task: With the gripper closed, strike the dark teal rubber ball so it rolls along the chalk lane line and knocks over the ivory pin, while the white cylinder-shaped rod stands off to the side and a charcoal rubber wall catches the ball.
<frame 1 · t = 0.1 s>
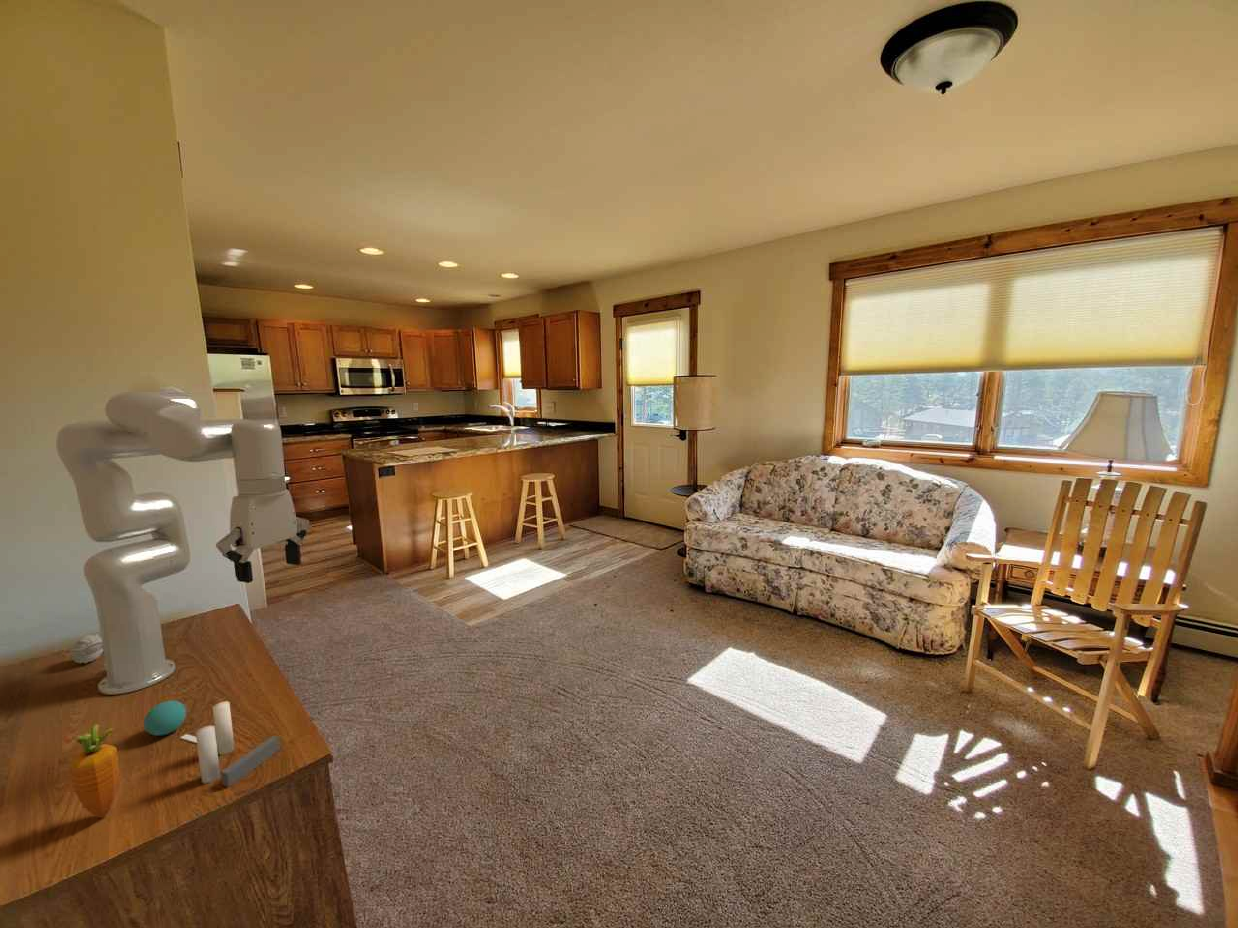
hand: (270, 572, 94), 31 cm above the table, tool pointing down, fingers open, 9 cm apart
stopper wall: (252, 766, 85), on the table
ivory pin: (226, 749, 89), on the table
white cylinder rod: (211, 777, 83), on the table
lane line: (199, 741, 91), on the table
carrot: (103, 818, 75), on the table
ball: (165, 717, 93), on the table
white ridged lump: (89, 662, 118), on the table
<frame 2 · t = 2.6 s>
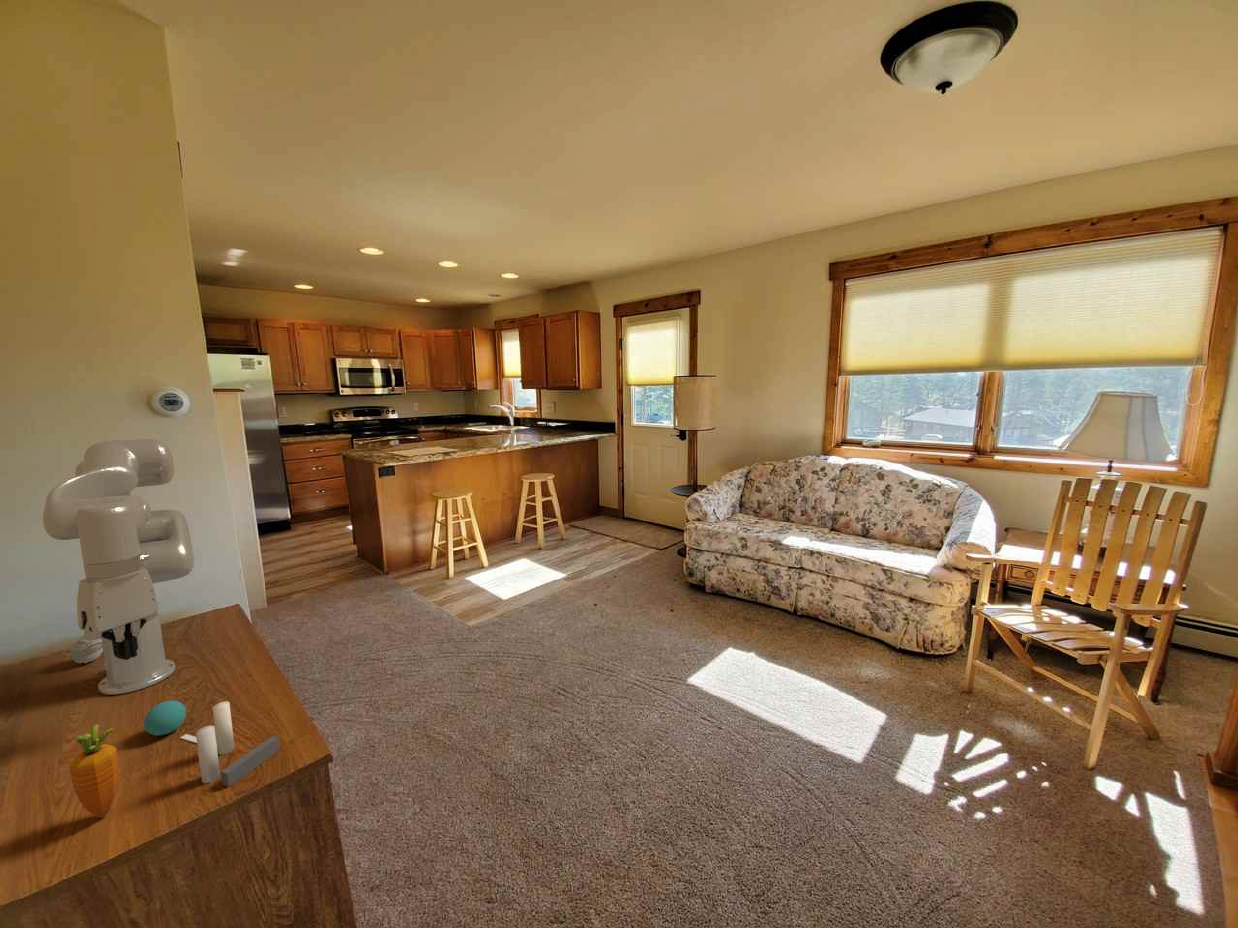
hand: (127, 656, 94), 14 cm above the table, tool pointing down, fingers closed
nothing on the table moved.
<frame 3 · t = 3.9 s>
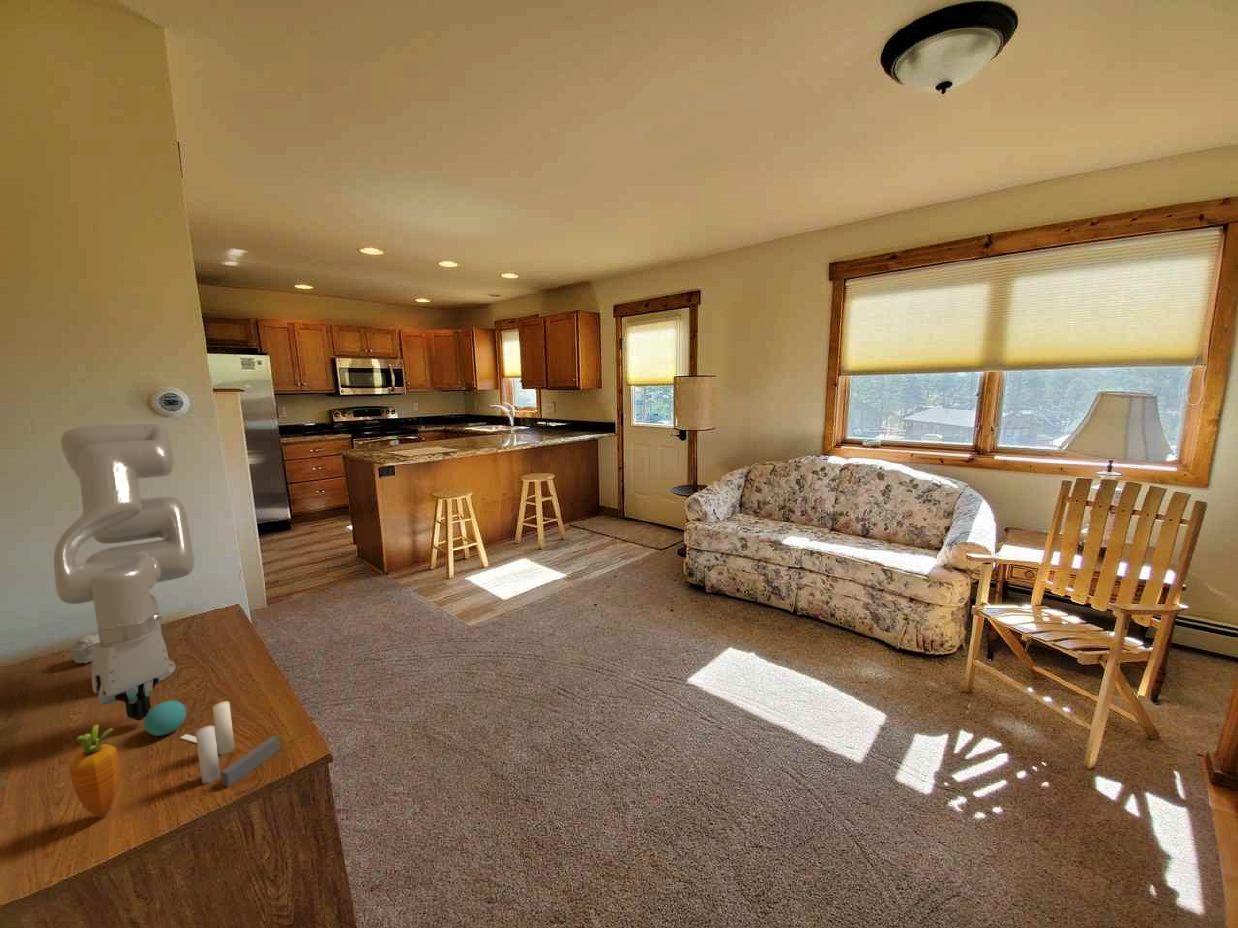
hand: (139, 716, 95), 2 cm above the table, tool pointing down, fingers closed
nothing on the table moved.
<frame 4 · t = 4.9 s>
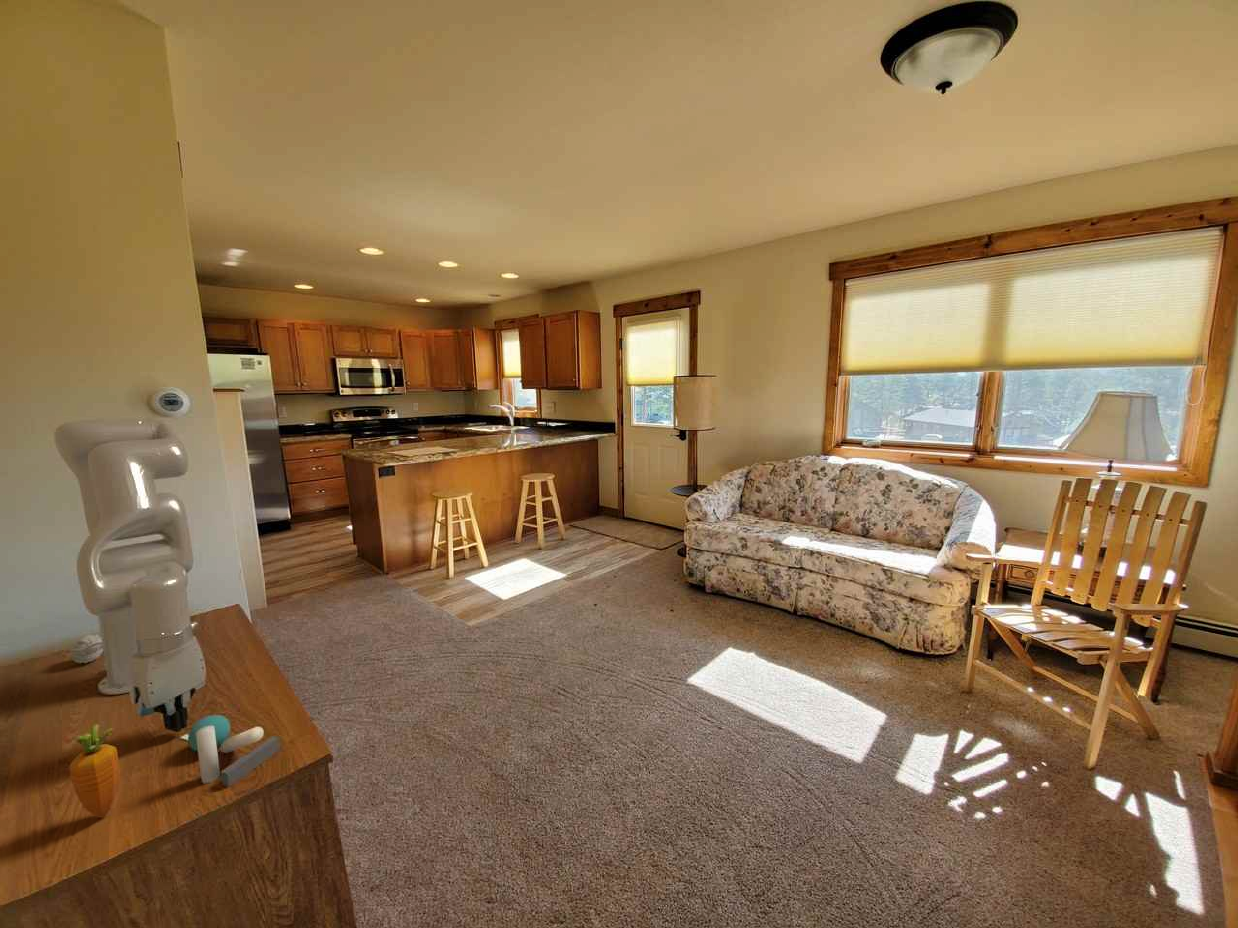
hand: (177, 727, 93), 2 cm above the table, tool pointing down, fingers closed
ivory pin: (228, 745, 89), point 1 cm above the table, tilted 62°
ball: (209, 732, 89), on the table
everything else where it was.
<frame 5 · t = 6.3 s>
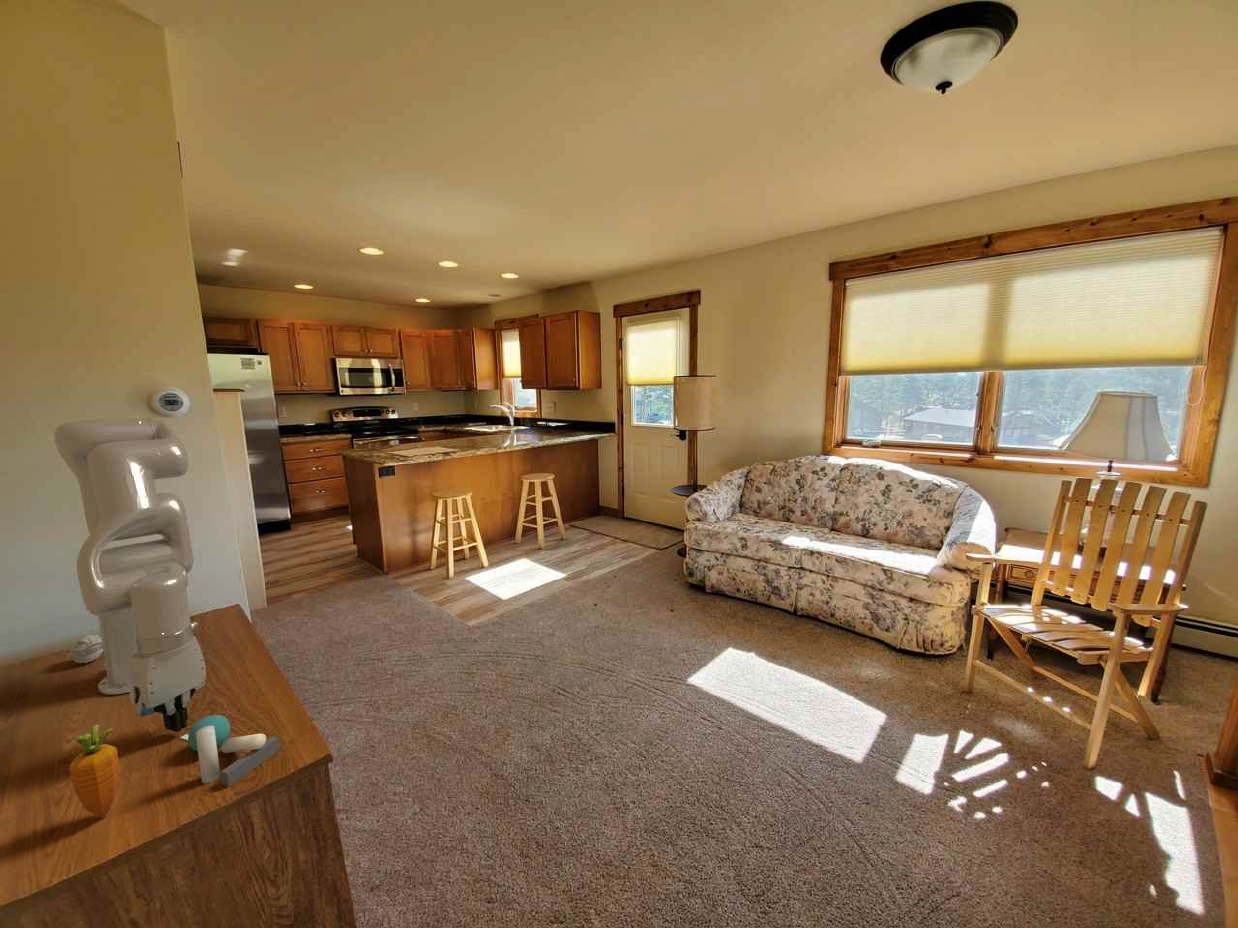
hand: (177, 727, 93), 2 cm above the table, tool pointing down, fingers closed
ivory pin: (228, 745, 89), point 1 cm above the table, tilted 70°, touching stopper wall
everything else where it was.
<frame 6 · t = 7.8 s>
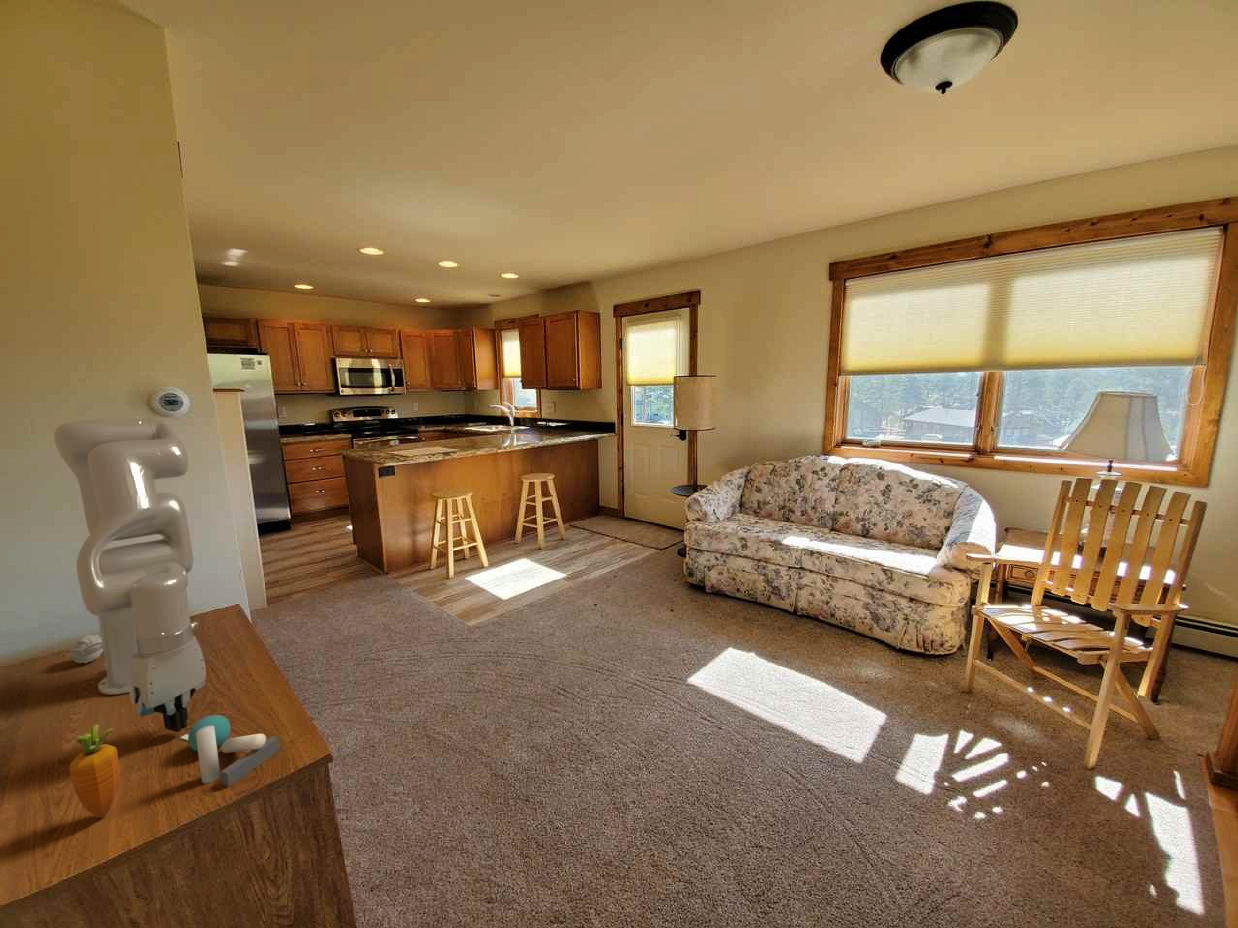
hand: (177, 727, 93), 2 cm above the table, tool pointing down, fingers closed
nothing on the table moved.
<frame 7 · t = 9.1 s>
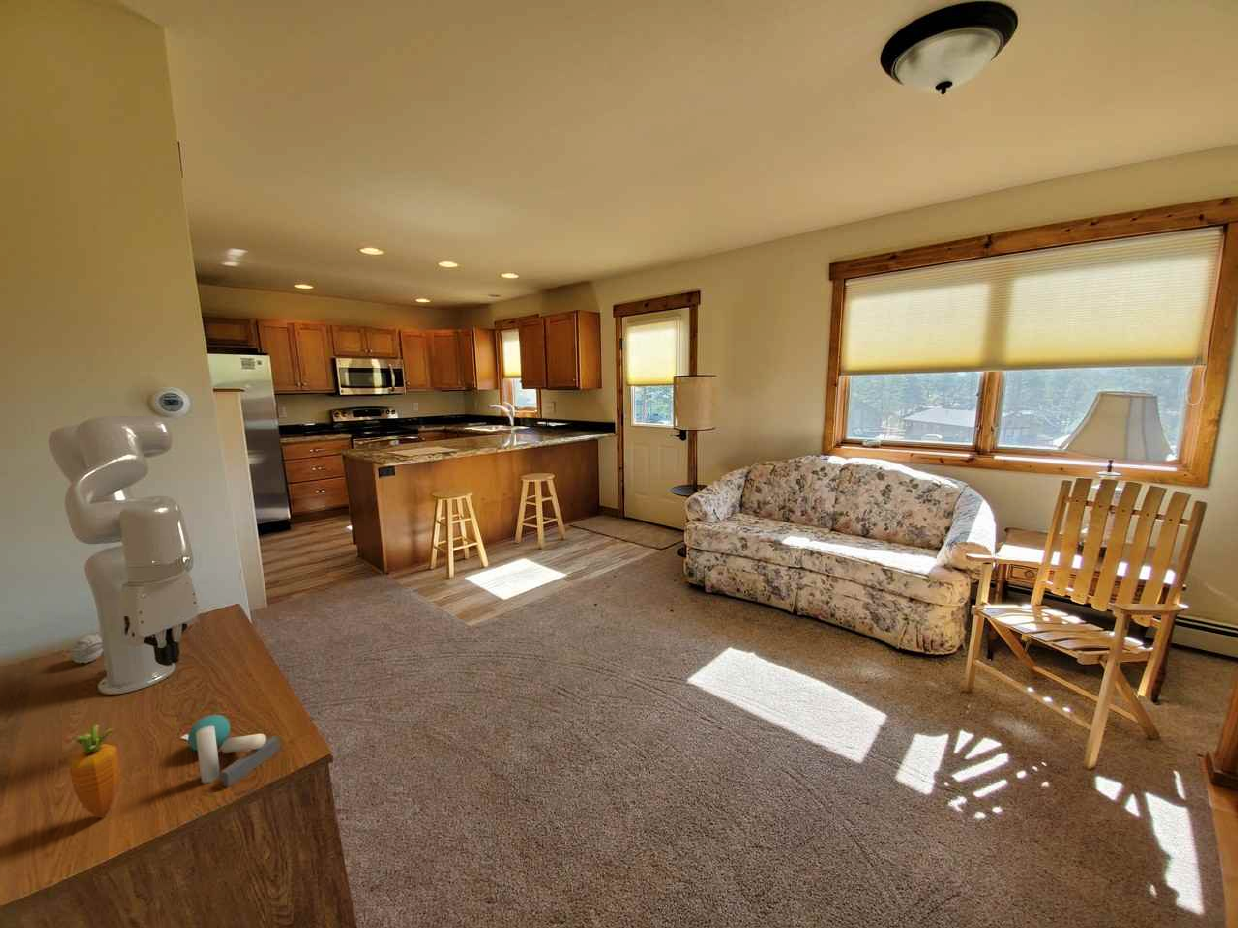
hand: (168, 662, 91), 15 cm above the table, tool pointing down, fingers closed
nothing on the table moved.
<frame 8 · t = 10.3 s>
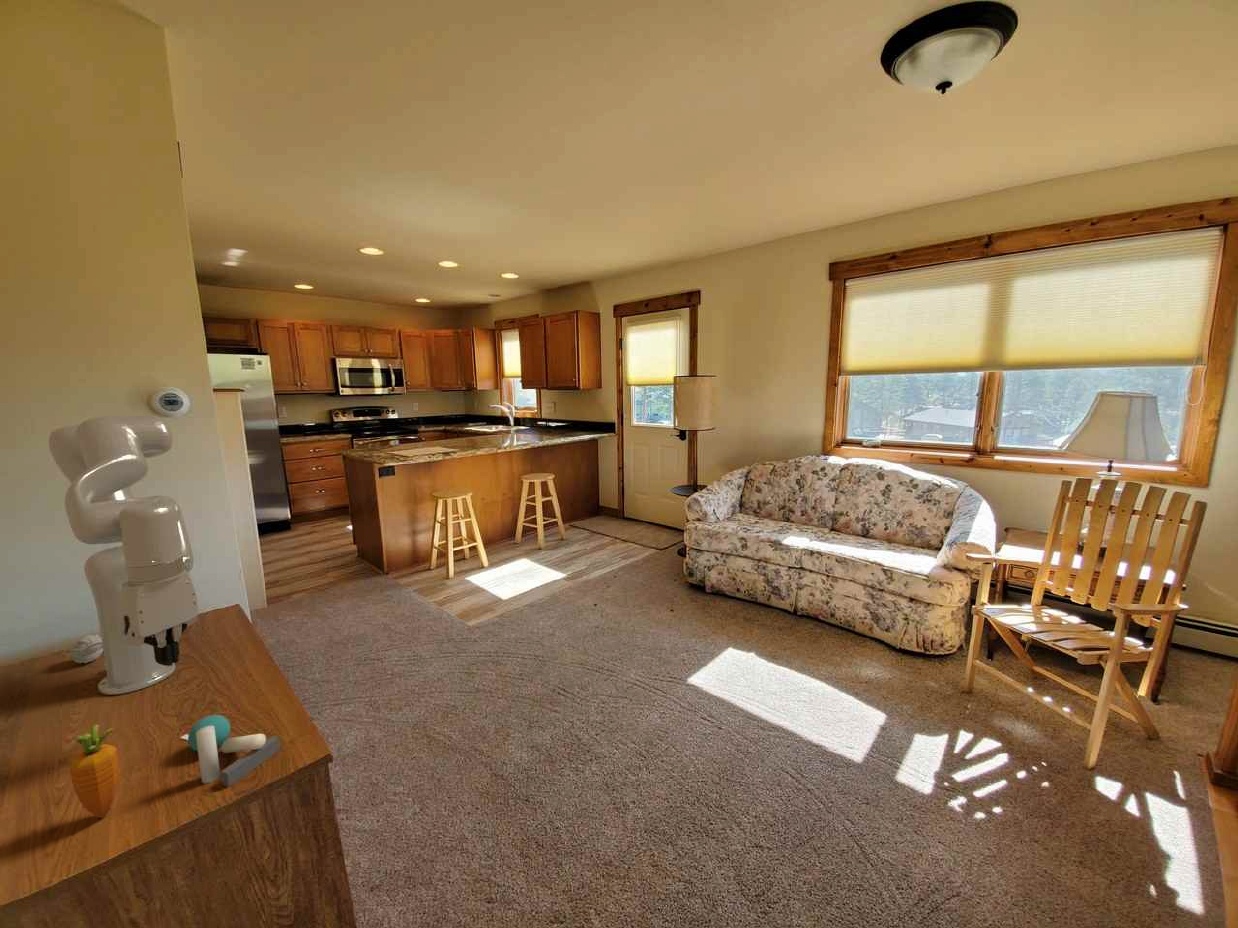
hand: (168, 662, 91), 15 cm above the table, tool pointing down, fingers closed
nothing on the table moved.
at the end: ivory pin tilted 70°; ivory pin never touched the robot; ball moved 12.8 cm from its start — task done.
